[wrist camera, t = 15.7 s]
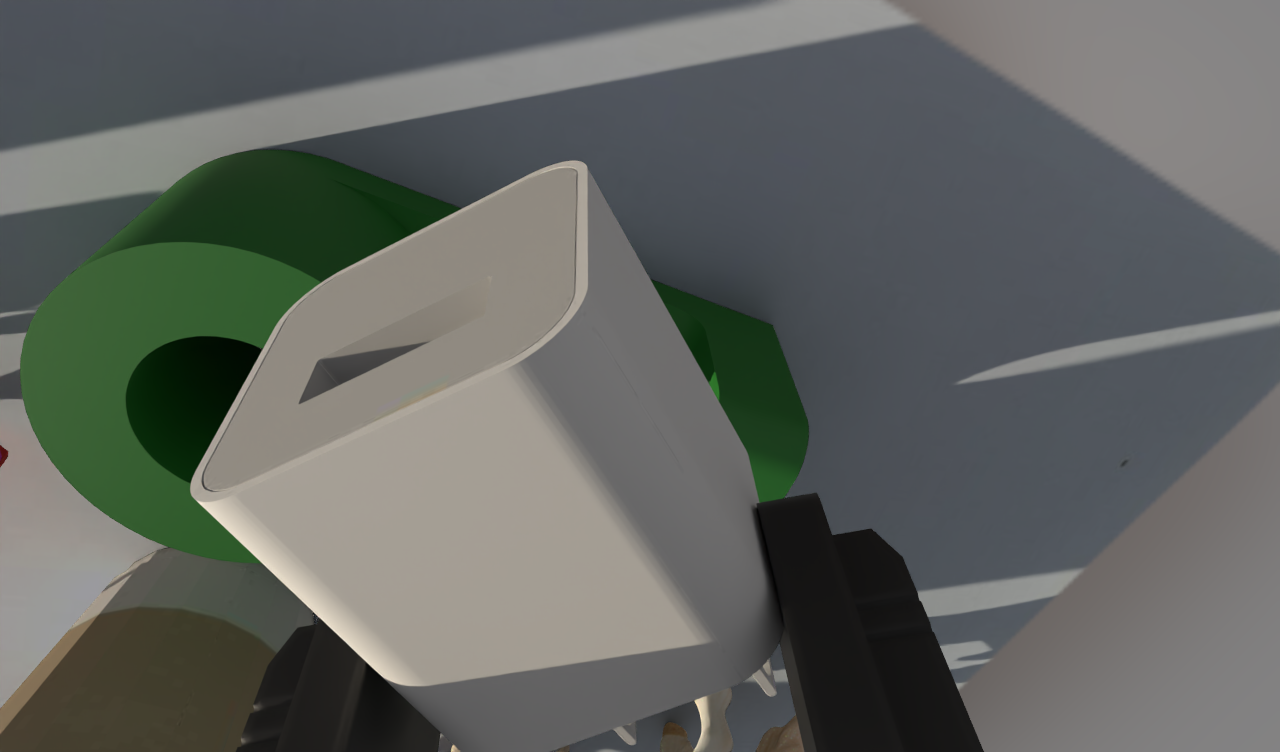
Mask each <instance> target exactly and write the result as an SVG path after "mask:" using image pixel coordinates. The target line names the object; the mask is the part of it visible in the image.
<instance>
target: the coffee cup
mask: <svg viewBox="0 0 1280 752" xmlns="http://www.w3.org/2000/svg"><path fill="white" fill-rule="evenodd" d="M309 625H314V622H313V612H312V610H311V609H310V608H309V607H308V606H307V605H306V604H305V603H304V602H303V601H302V600H300V599H299V598H298V597H297V596H296V595H295V594H294V593H293V592H292V591H291V590H290V589H289V588H288V587H287V586H286V585H285V584H284V583H283V582H282V581H280V580H279V579H278V578H277V577H276V576H275V575H274V574H273V573H272V572H271V571H270V570H269V569H268V568H267V567H266V566H265V565H264V564H263V563H238V562H229V561H221V560H216V559H210V558H205V557H200V556H197V555H193V554H189V553H185V552H182V551H179V550H176V549H173V548H166V549H161V550H157V551H155V552H153V553H151V554H150V555H148V556H146V557H144V558H142V559H140V560H138V561H137V562H135V563H133V565H132V566H131V567H130V568H129V569H128V570H127V571H126V572H124V573H122V574H120V575H118V576H116V577H115V578H114V579H113V580H112V581H111V582H110V583H109V585H108V586H107V587H106V588H105V589H104V590H103V591H102V593H101V594H100V595H99V596H98V597H97V598H96V600H95V601H94V602H93V603H92V604H91V605H90V606H89V608H88V609H87V610H86V611H85V612H84V613H83V614H82V616H81V617H80V618H79V619H78V620H77V621H76V622H75V624H74V625H73V626H72V627H71V628H70V629H69V631H68V632H67V633H66V634H65V635H64V636H63V637H62V639H61V640H60V641H59V642H58V643H57V644H56V645H55V647H54V648H53V649H52V650H51V651H50V652H49V654H48V655H47V656H46V657H45V658H44V659H43V660H42V662H41V663H40V664H39V665H38V666H37V667H36V668H35V670H34V671H33V672H32V673H31V674H30V675H29V676H28V678H27V679H26V680H25V681H24V682H23V683H22V685H21V686H20V687H19V688H18V689H17V690H16V691H15V693H14V694H13V695H12V696H11V697H10V698H9V699H8V701H7V702H6V703H5V704H4V705H3V706H2V707H1V709H0V752H236V750H237V747H241V744H242V741H241V736H242V733H243V731H244V728H245V725H246V723H247V720H248V717H249V715H250V713H253V712H254V706H253V704H254V701H255V698H256V696H257V693H258V690H259V688H260V685H261V682H262V680H263V677H264V674H265V672H266V669H267V666H268V664H269V663H270V662H271V661H272V659H273V658H274V657H275V655H276V654H277V653H278V652H279V650H280V649H281V648H282V647H283V645H284V644H285V643H286V641H287V640H288V639H289V638H290V636H291V635H292V634H293V633H294V631H295V630H296V629H297V628H298V627H303V626H309Z"/></svg>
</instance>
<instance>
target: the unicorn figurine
mask: <svg viewBox="0 0 1280 752" xmlns="http://www.w3.org/2000/svg"><path fill="white" fill-rule="evenodd" d="M731 699H732V691H731V688H728V689H725V690H722V691H719V692H717V693H714V694H711V695H708V696H705V697H703V698H700V699H697V700H694V701H695V703H696V705H697V707H698V710H699V713H700V718H701V724H702V732H701V736H700V739H699V741H698V744H697V746H696V748H695V749H693V748H692V746H691V743H690V741H688V739H687V733H686V731H685V730H684V729H683V728H682V727H680V726H679V725H677V724H675V723H672V722H669V723H667V724H666V725H665V727H664V729H663V735H662V740H661V743H660V752H731V751H732V749H733V740H732V736H731V733H730V730H729V727H728V724H727V722H726V718H725V711H726V709H727V707H728V706H729V705H730V702H731ZM451 752H461V751H460V750H459V749H457V748H456V747H455V746H454V745H453V746H452V748H451ZM556 752H569V745H568V746H565V747H562V748H559V749H558V750H557V751H556ZM756 752H804V748H803V743H802V739H801V734H800V730H799V726H798V721H797V717H796V715H795V716H794V717H793V718H792V719H791V721H790V722H789V723H787V724H786V725H785V726H783V727H781V728H780V727H773V728H770V729H769V730H768V731H767V732H766V733H765V734H764V735H763V737H762V739H761V741H760V743H759V745H758V748H757V750H756Z"/></svg>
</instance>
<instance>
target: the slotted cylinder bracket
mask: <svg viewBox="0 0 1280 752" xmlns="http://www.w3.org/2000/svg"><path fill="white" fill-rule="evenodd" d="M461 209H462V208H459V207H456V206H454V205H451V204H448V203H446V202H443V201H440V200H438V199H435V198H432V197H430V196H427V195H424V194H422V193H419V192H416V191H414V190H411V189H408V188H406V187H403V186H400V185H398V184H395V183H392V182H390V181H387V180H384V179H382V178H379V177H376V176H374V175H371V174H368V173H366V172H363V171H360V170H358V169H355V168H352V167H350V166H347V165H344V164H342V163H339V162H336V161H334V160H331V159H328V158H324V157H320V156H316V155H313V154H308V153H302V152H296V151H287V150H254V151H247V152H241V153H236V154H232V155H228V156H224V157H221V158H218V159H216V160H213V161H211V162H208V163H206V164H204V165H202V166H200V167H198V168H197V169H195V170H193V171H191V172H190V173H188V174H187V175H186V176H184V177H183V178H182V179H180V180H179V181H178V182H176V183H175V184H174V185H173V186H172V187H171V188H170V189H168V190H167V191H166V192H165V193H164V194H163V195H161V196H160V197H159V198H158V199H157V200H156V201H155V202H153V203H152V204H151V205H150V206H149V207H148V208H146V209H145V210H144V211H143V212H142V213H141V214H139V215H138V216H137V217H136V218H135V219H134V220H133V221H131V222H130V223H129V224H128V225H127V226H126V227H124V228H123V229H122V230H121V231H120V232H119V233H117V234H116V235H115V236H114V237H113V238H112V239H111V240H109V241H108V242H107V243H106V244H105V245H104V246H102V247H101V248H100V249H99V250H98V251H97V252H95V253H94V254H93V255H92V256H91V257H90V258H89V259H87V260H86V261H85V262H84V263H83V264H82V265H80V266H79V267H78V268H77V269H76V270H75V271H73V272H72V273H71V274H70V275H69V276H68V277H67V278H65V279H64V280H63V281H62V282H61V283H60V284H59V285H58V286H57V287H56V288H55V289H54V290H53V291H52V292H51V293H50V294H49V295H48V296H47V298H46V299H45V300H44V302H43V303H42V304H41V306H40V307H39V308H38V310H37V312H36V314H35V316H34V317H33V319H32V321H31V323H30V325H29V328H28V331H27V334H26V336H25V339H24V343H23V348H22V354H21V363H20V381H21V390H22V396H23V401H24V405H25V409H26V412H27V415H28V418H29V420H30V423H31V426H32V428H33V431H34V432H35V434H36V436H37V438H38V440H39V442H40V444H41V446H42V448H43V449H44V451H45V452H46V454H47V455H48V457H49V458H50V460H51V461H52V463H53V464H54V465H55V466H56V468H57V469H58V470H59V471H60V473H61V474H62V475H63V476H64V478H65V479H66V480H67V481H68V482H69V483H70V484H71V485H72V486H73V487H74V488H75V489H76V490H77V491H78V492H79V493H80V494H81V495H82V496H84V497H85V498H86V499H87V500H88V501H89V502H90V503H92V504H93V505H94V506H95V507H97V508H98V509H99V510H101V511H102V512H104V513H105V514H106V515H108V516H109V517H110V518H112V519H114V520H115V521H117V522H118V523H120V524H122V525H123V526H125V527H127V528H128V529H130V530H132V531H134V532H136V533H138V534H140V535H142V536H144V537H146V538H148V539H150V540H153V541H155V542H157V543H160V544H162V545H164V546H167V547H170V548H173V549H176V550H179V551H182V552H185V553H189V554H193V555H197V556H200V557H205V558H210V559H216V560H221V561H229V562H238V563H262V562H260V561H259V560H258V559H257V558H256V557H255V556H254V555H253V554H252V553H251V552H250V551H249V550H248V549H247V548H246V547H245V546H244V545H243V544H241V543H240V542H239V541H238V540H237V539H236V538H235V537H234V536H233V535H232V534H231V533H230V532H229V531H228V530H227V529H226V528H225V527H224V526H223V525H221V524H220V523H219V522H218V521H217V520H216V519H215V518H214V517H213V516H212V515H211V514H210V513H209V512H208V511H207V510H206V509H205V508H204V507H203V506H201V505H200V504H199V503H198V502H197V501H196V500H195V499H194V498H193V497H192V495H191V492H190V486H191V481H192V478H193V476H194V473H195V471H196V469H197V468H198V466H199V464H200V462H201V460H202V459H203V457H204V455H205V453H206V451H207V449H208V448H209V446H210V444H211V442H212V440H213V439H214V437H215V435H216V433H217V431H218V430H219V428H220V426H221V424H222V422H223V420H224V419H225V417H226V415H227V413H228V411H229V410H230V408H231V406H232V404H233V402H234V401H235V399H236V397H237V395H238V393H239V391H240V390H241V388H242V386H243V384H244V382H245V381H246V379H247V377H248V375H249V373H250V372H251V370H252V368H253V366H254V364H255V362H256V361H257V359H258V357H259V355H260V353H261V352H262V350H261V349H259V348H262V349H263V348H264V346H265V344H266V343H267V341H268V339H269V337H270V335H271V334H272V332H273V330H274V328H275V326H276V325H277V323H278V322H279V320H280V319H281V318H282V317H283V315H284V314H285V313H286V312H287V311H288V310H289V309H290V308H291V307H292V306H293V305H294V304H295V303H296V302H297V301H298V300H299V299H301V298H302V297H303V296H304V295H305V294H307V293H308V292H309V291H310V290H312V289H313V288H314V287H316V286H317V285H319V284H320V283H322V282H323V281H325V280H326V279H328V278H329V277H331V276H332V275H334V274H336V273H338V272H339V271H341V270H343V269H345V268H347V267H349V266H351V265H353V264H355V263H357V262H359V261H361V260H363V259H365V258H367V257H369V256H371V255H373V254H374V253H376V252H378V251H380V250H382V249H384V248H386V247H388V246H390V245H392V244H394V243H396V242H398V241H400V240H402V239H404V238H406V237H408V236H410V235H412V234H414V233H416V232H418V231H419V230H421V229H423V228H425V227H427V226H429V225H431V224H433V223H435V222H437V221H439V220H441V219H443V218H445V217H447V216H449V215H451V214H453V213H455V212H457V211H459V210H461ZM650 280H651V279H650ZM651 282H652V283H653V285H654V287H655V289H656V291H657V292H658V294H659V296H660V298H661V299H662V301H663V303H664V305H665V307H666V308H667V310H668V312H669V314H670V316H671V317H672V319H673V321H674V323H675V324H676V326H677V328H678V330H679V332H680V333H681V335H682V337H683V339H684V340H685V342H686V344H687V346H688V348H689V349H690V351H691V353H692V355H693V356H694V358H695V360H696V362H697V364H698V365H699V367H700V369H701V371H702V373H703V374H704V376H705V378H706V380H707V381H708V383H709V385H710V387H711V389H712V390H713V392H714V394H715V396H716V397H717V399H718V401H719V403H720V405H721V406H722V408H723V410H724V412H725V413H726V415H727V417H728V419H729V421H730V422H731V424H732V426H733V428H734V429H735V431H736V433H737V435H738V437H739V438H740V440H741V442H742V444H743V446H744V447H745V449H746V451H747V453H748V456H749V460H750V465H751V469H752V473H753V477H754V482H755V486H756V490H757V494H758V499H759V503H760V502H766V501H772V500H777V499H783V498H784V497H785V496H786V494H787V493H788V491H789V489H790V488H791V486H792V485H793V483H794V481H795V480H796V478H797V476H798V474H799V472H800V469H801V467H802V464H803V461H804V458H805V455H806V451H807V446H808V438H809V425H808V420H807V416H806V414H805V411H804V408H803V406H802V403H801V400H800V397H799V395H798V392H797V389H796V387H795V384H794V381H793V378H792V376H791V373H790V370H789V368H788V365H787V362H786V359H785V357H784V354H783V351H782V349H781V346H780V343H779V340H778V338H777V335H776V332H775V330H774V327H773V325H771V324H768V323H766V322H763V321H760V320H758V319H755V318H752V317H750V316H747V315H744V314H742V313H739V312H736V311H734V310H731V309H728V308H726V307H723V306H720V305H718V304H715V303H712V302H710V301H707V300H704V299H702V298H699V297H696V296H694V295H691V294H688V293H686V292H683V291H680V290H678V289H675V288H672V287H670V286H667V285H664V284H662V283H659V282H656V281H654V280H651ZM256 346H257V347H259V348H257V347H256Z"/></svg>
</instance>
